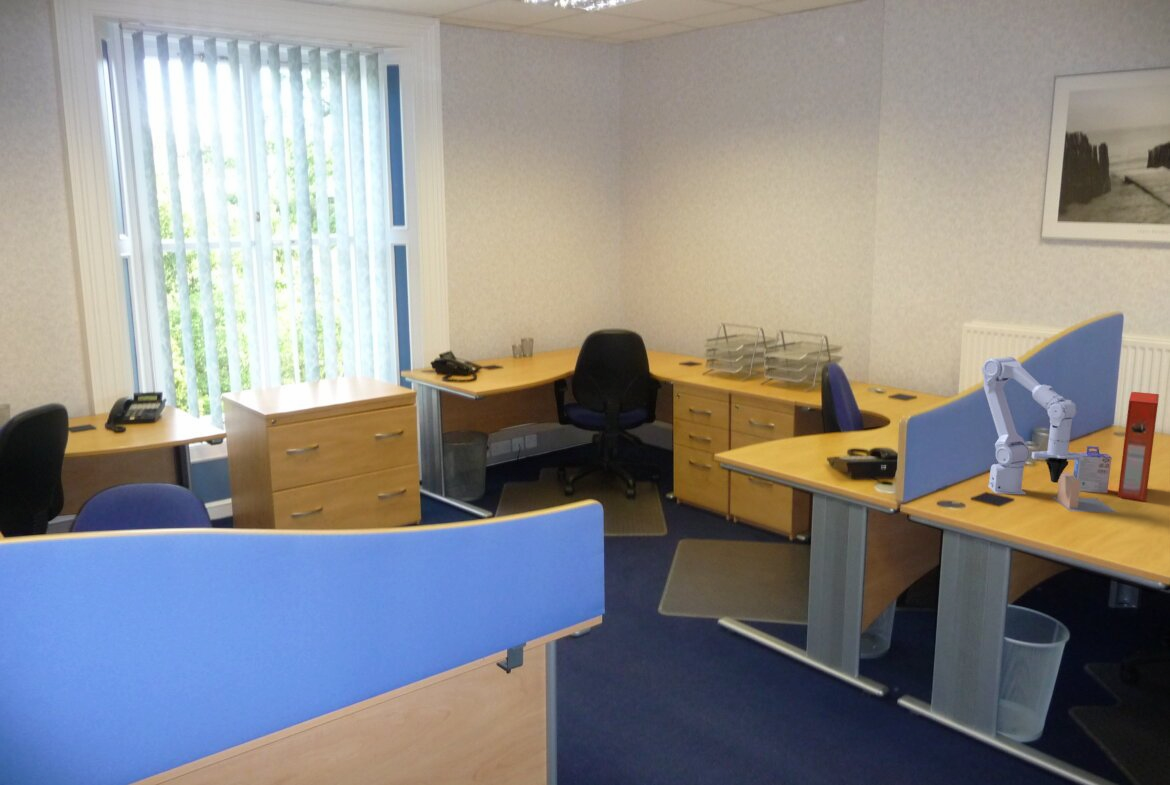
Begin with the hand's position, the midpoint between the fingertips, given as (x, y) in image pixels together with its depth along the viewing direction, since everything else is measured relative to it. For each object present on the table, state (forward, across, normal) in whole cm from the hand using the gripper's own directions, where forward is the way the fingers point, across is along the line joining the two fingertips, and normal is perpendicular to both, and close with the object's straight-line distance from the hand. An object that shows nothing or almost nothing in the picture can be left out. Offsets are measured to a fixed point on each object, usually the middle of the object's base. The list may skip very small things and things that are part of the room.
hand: (1054, 481), depth 289 cm
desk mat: (+7, +10, 0) cm, 12 cm away
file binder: (+8, +31, +15) cm, 36 cm away
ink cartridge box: (+8, +19, +17) cm, 26 cm away
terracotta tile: (+7, +5, 0) cm, 9 cm away
